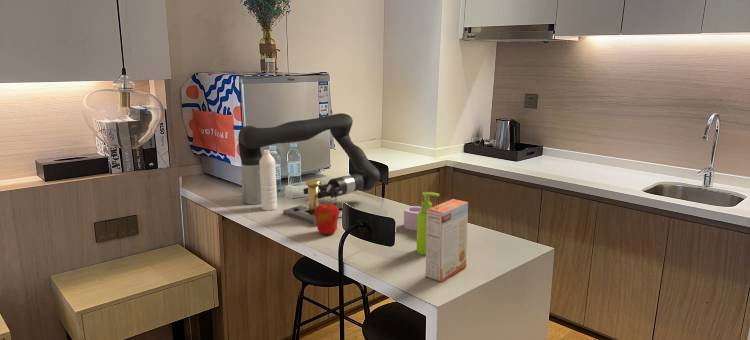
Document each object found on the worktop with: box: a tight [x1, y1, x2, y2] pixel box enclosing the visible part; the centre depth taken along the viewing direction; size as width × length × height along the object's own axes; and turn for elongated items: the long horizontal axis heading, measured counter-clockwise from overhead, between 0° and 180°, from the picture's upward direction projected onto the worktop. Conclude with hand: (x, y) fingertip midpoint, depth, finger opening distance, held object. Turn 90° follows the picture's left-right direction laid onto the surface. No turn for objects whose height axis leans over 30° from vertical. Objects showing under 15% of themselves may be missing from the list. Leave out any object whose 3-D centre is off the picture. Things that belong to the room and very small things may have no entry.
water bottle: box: [259, 149, 278, 211], centre depth 209 cm, size 9×6×25 cm
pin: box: [305, 179, 321, 214], centre depth 197 cm, size 6×6×15 cm
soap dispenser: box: [416, 191, 440, 256], centre depth 164 cm, size 6×7×20 cm
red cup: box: [315, 202, 340, 236], centre depth 182 cm, size 9×8×12 cm
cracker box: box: [425, 198, 469, 283], centre depth 148 cm, size 14×6×21 cm, turn 139°
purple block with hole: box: [403, 205, 421, 232], centre depth 186 cm, size 20×12×7 cm, turn 53°
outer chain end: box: [297, 207, 317, 226], centre depth 197 cm, size 13×9×4 cm
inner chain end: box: [282, 205, 314, 225], centre depth 202 cm, size 19×9×2 cm, turn 47°
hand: (310, 193), depth 196 cm, fingers open, 8 cm apart
